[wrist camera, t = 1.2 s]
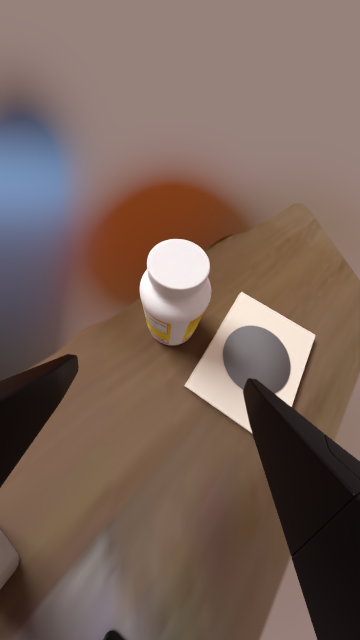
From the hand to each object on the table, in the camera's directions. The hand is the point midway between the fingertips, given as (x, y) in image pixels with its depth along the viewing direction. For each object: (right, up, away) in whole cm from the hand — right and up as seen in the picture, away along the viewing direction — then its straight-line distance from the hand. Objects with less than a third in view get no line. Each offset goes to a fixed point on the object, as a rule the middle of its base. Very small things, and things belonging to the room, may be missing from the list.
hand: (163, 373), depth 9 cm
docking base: (+11, -3, +14) cm, 18 cm away
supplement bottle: (0, +2, +16) cm, 16 cm away
